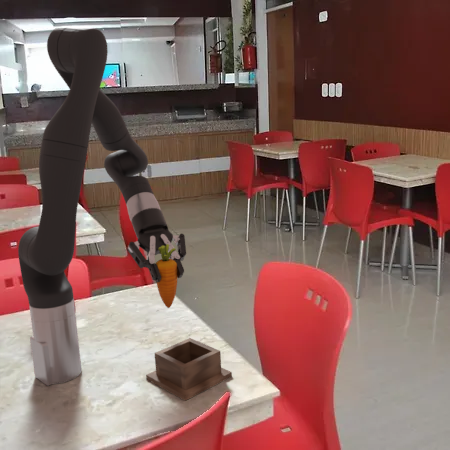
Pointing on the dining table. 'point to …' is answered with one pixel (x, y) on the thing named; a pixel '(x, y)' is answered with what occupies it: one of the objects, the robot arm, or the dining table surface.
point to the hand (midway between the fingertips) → (169, 278)
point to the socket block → (188, 368)
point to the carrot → (167, 276)
